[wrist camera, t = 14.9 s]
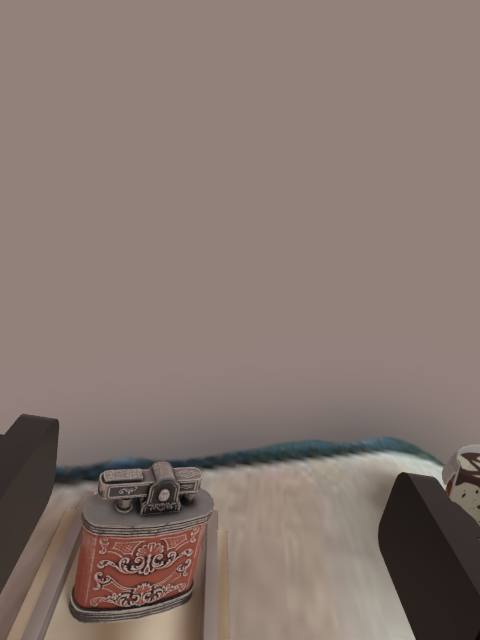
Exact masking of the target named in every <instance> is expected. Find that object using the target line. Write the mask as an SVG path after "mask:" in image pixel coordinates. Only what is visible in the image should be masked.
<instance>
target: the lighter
mask: <svg viewBox="0 0 480 640" xmlns="http://www.w3.org/2000/svg"><path fill="white" fill-rule="evenodd" d="M201 480H202V473H201V471H200V470H199V469H198V468H195V467H188V468H173V467H171V465H170V464H169V463H168V462H166V461H163V462H156V463H154V464H153V465H152V466H151V467H150V468H149V469H147V470H141V469H126V470H108V471H105V472H104V473H102V474H101V475H100V479H99V486H98V493H97V494H95V495H92V496H90V497H89V498H88V499H86V501H85V502H84V504H83V510H82V517H81V522H82V525H83V531H82V538H81V545H80V552H79V558H78V565H77V572H76V579H75V584H74V585H73V587H72V589H71V594H70V601H69V610H70V614H71V615H72V617H73V618H74V619H75V620H77V621H78V622H82V623H114V622H122V621H131V620H138V619H142V618H146V617H150V616H154V615H158V614H161V613H164V612H167V611H170V610H172V609H175V608H177V607H180V606H183V605H184V604H186V603H188V601H189V600H190V598H191V596H192V591H193V587H194V583H195V582H194V572H195V568H196V564H197V560H198V556H199V552H200V547H201V543H202V539H203V535H204V531H205V527H206V523H207V522H208V521H209V519H210V518H211V514H212V510H213V505H214V503H213V499H212V497H211V496H210V494H209V493H207V492H206V491H205V490H203V489H201V488H200V485H201Z"/></svg>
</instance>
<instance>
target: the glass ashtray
mask: <svg viewBox="0 0 480 640" xmlns="http://www.w3.org/2000/svg"><path fill="white" fill-rule="evenodd" d="M95 494H97V492H90V491H84V493H83V495H82V498H81V500H80V502H79V505H78V507H77V509H75V508H68V507H67V508H66V511H65V513H64V515H63V517H62V519H61V521H60V524H59V526H58V528H57V530H56V532H55V534H54V537H53V539H52V541H51V543H50V545H49V548H48V550H47V552H46V554H45V556H44V558H43V561H42V563H41V565H40V567H39V569H38V572H37V574H36V576H35V578H34V580H33V582H32V585H31V587H30V589H29V591H28V593H27V595H26V598H25V600H24V602H23V604H22V606H21V609H20V611H19V613H18V615H17V617H16V619H15V622H14V624H13V626H12V628H11V630H10V633H9V635H8V637H7V639H6V640H230V637H229V590H228V544H227V531H224V530H218V511H216V510H212V514H211V518H210V519H209V521H208V522H207V523H206V527H205V531H204V535H203V539H202V543H201V547H200V552H199V556H198V560H197V564H196V568H195V572H194V582H195V583H194V587H193V591H192V596H191V598H190V600H189V601H188V603H186V604H184V605H183V606H180V607H177V608H175V609H172V610H170V611H167V612H164V613H161V614H158V615H154V616H150V617H146V618H142V619H138V620H131V621H122V622H114V623H82V622H78V621H77V620H75V619H74V618H73V617H72V615H71V614H70V610H69V601H70V594H71V589H72V587H73V585H74V584H75V579H76V572H77V565H78V558H79V552H80V545H81V538H82V531H83V525H82V522H81V517H82V510H83V504H84V502H85V501H86V499H88V498H89V497H90V496H92V495H95Z"/></svg>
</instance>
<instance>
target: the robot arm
mask: <svg viewBox="0 0 480 640" xmlns="http://www.w3.org/2000/svg"><path fill="white" fill-rule="evenodd" d="M58 434H59V422H58V420H57V419H54V418H47V417H40V416H34V415H27V414H22V415H20V417H19V418H18V419H17V420H16V421H15V422H14V424H13V425H12V426H11V427H10V429H9V430H8V431H7V432H6V434H5V435H1V434H0V594H1V592H2V590H3V588H4V586H5V584H6V582H7V580H8V578H9V576H10V575H11V573H12V571H13V569H14V567H15V565H16V563H17V561H18V559H19V557H20V555H21V554H22V552H23V550H24V548H25V546H26V544H27V542H28V540H29V538H30V536H31V534H32V533H33V531H34V529H35V527H36V525H37V523H38V521H39V519H40V517H41V515H42V514H43V512H44V510H45V508H46V506H47V504H48V501H49V499H50V496H51V493H52V489H53V485H54V480H55V472H56V459H57V447H58ZM378 541H379V547H380V551H381V554H382V556H383V559H384V561H385V564H386V566H387V569H388V571H389V574H390V576H391V579H392V581H393V584H394V586H395V589H396V591H397V594H398V596H399V599H400V601H401V604H402V606H403V609H404V611H405V614H406V616H407V619H408V621H409V624H410V626H411V629H412V631H413V634H414V636H415V639H416V640H480V526H479V524H478V523H477V521H476V520H475V519H474V518H473V517H472V516H471V515H470V514H468V513H467V512H466V511H465V510H464V509H463V508H462V507H461V506H459V505H458V504H457V503H456V502H452V501H451V499H450V498H449V496H448V495H447V493H446V492H445V490H444V489H443V487H442V486H441V484H440V483H439V481H438V480H437V479H436V478H434V477H431V476H425V475H418V474H411V473H405V472H402V473H400V474H399V475H398V476H397V478H396V480H395V483H394V485H393V488H392V491H391V494H390V496H389V499H388V502H387V504H386V507H385V510H384V513H383V515H382V518H381V521H380V524H379V530H378Z"/></svg>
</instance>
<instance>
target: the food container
mask: <svg viewBox="0 0 480 640" xmlns="http://www.w3.org/2000/svg"><path fill="white" fill-rule="evenodd" d="M442 479H443V482H444V484H445V485H446V484H447V487H446V490H445V492H446V493H447V495H448V496H449V498H450V499H451V501H452V502H456V503H457V504H458V505H459V506H461V507H462V508H463V509H464V510H465V511H466V512H467V513H468V514H470V515H471V516H472V517H473V518H474V519H475V520H476V521H477V523H478V524H479V526H480V445H469V446H464V447H463V448H461V449H460V450H459V451H458V452H456V453H454V455H453V456H452V457H451V458H450V460H449V461H448V462H447V464H446V465H445V466H444V468H443V471H442Z"/></svg>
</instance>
